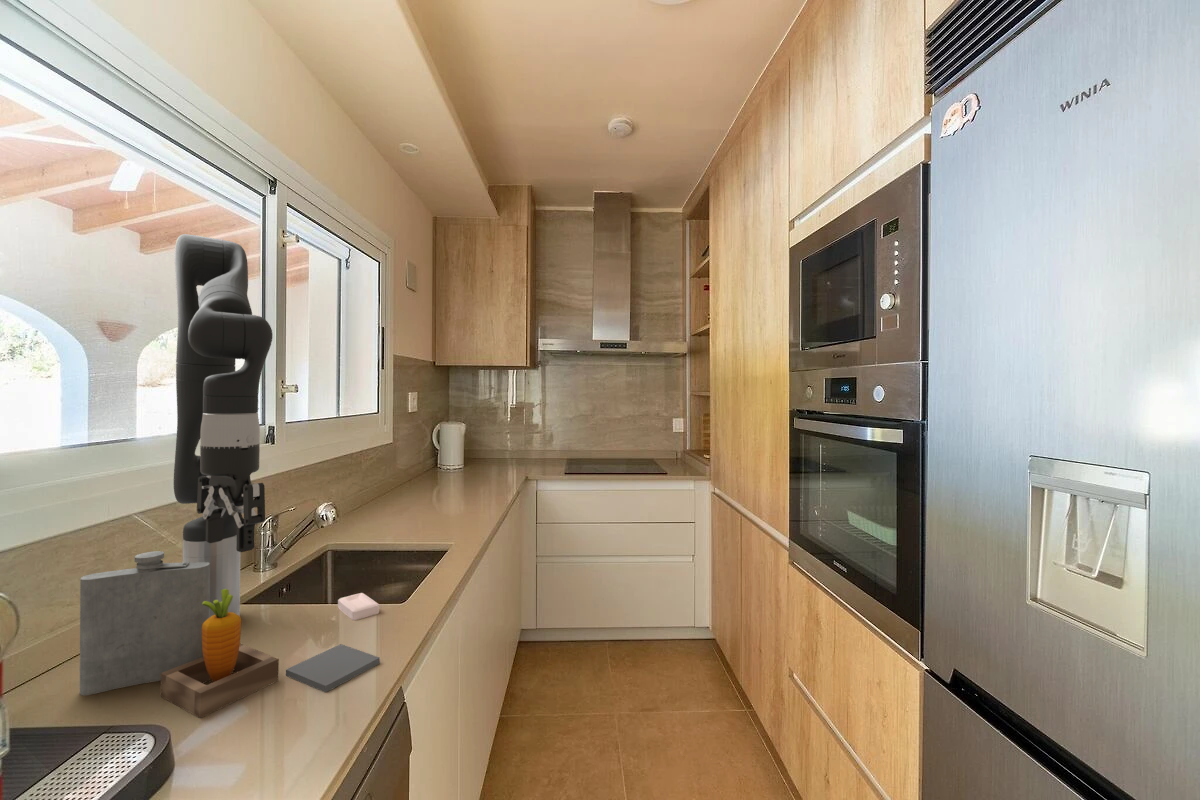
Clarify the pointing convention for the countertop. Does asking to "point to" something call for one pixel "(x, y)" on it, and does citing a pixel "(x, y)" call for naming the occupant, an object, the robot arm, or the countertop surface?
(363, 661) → the mat
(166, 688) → the socket collar
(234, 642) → the carrot
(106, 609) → the hip flask
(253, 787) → the countertop surface
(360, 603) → the soap bar
